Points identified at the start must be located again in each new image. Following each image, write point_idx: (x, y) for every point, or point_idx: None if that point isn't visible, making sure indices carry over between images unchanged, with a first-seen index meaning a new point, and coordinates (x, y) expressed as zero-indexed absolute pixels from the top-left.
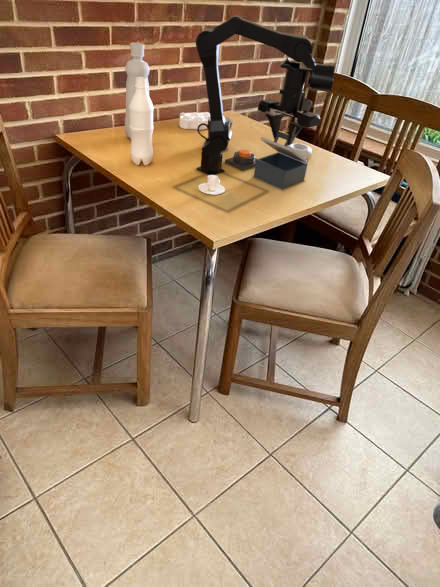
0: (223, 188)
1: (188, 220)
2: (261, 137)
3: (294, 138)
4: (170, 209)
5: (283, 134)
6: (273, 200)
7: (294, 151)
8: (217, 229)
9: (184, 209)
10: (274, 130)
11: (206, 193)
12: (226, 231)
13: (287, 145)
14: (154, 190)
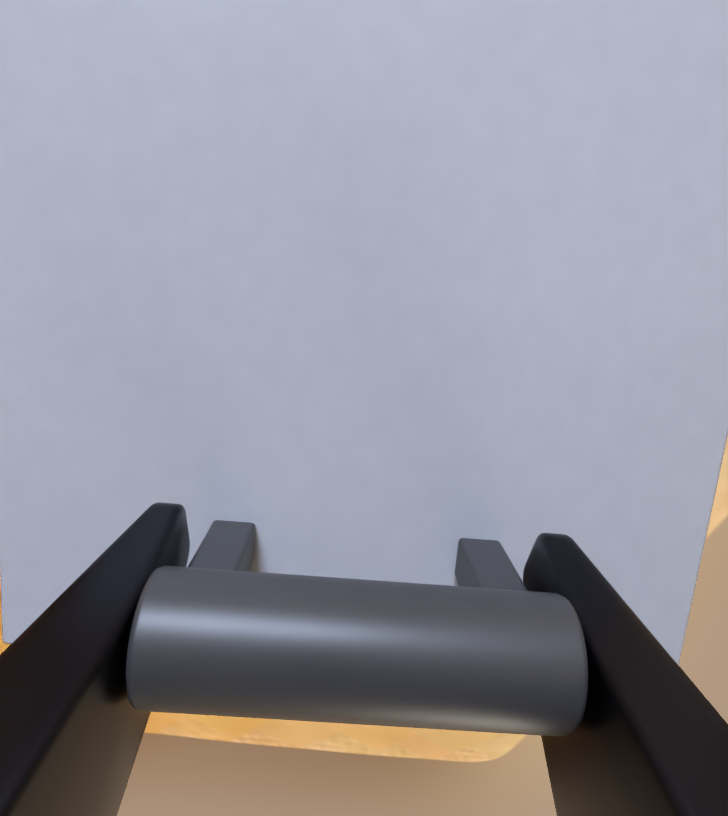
0: None
1: (352, 746)
2: (12, 639)
3: (665, 665)
4: (251, 738)
5: (359, 720)
6: None
7: (687, 587)
8: (465, 738)
9: (282, 722)
10: (124, 789)
11: None
12: (498, 733)
13: (509, 561)
14: None
